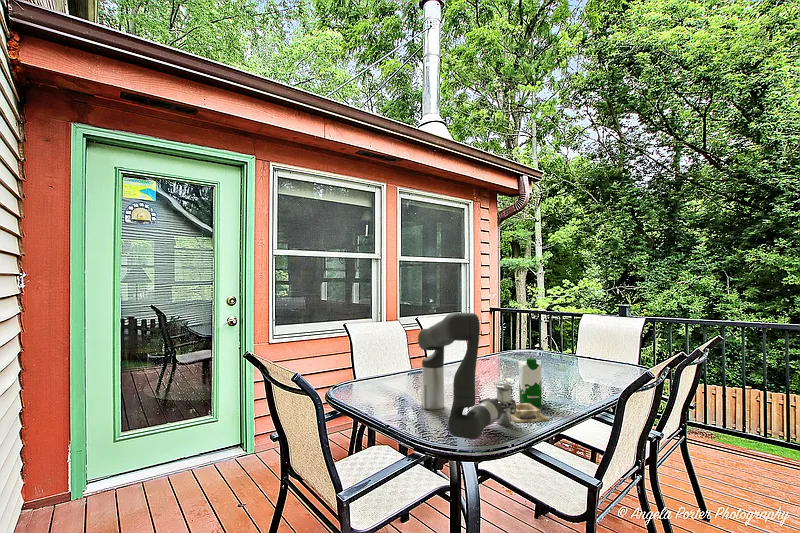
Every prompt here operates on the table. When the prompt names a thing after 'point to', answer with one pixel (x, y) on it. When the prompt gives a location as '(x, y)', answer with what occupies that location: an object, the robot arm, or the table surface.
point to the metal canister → (502, 396)
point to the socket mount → (527, 413)
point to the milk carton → (530, 382)
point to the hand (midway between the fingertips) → (506, 400)
